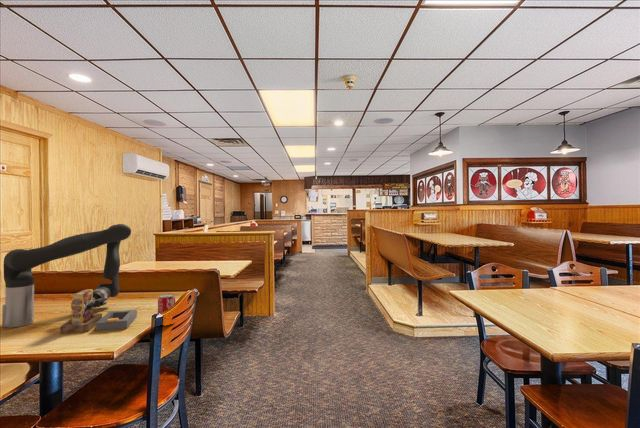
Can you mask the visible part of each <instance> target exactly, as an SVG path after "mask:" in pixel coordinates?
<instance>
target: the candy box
mask: <svg viewBox="0 0 640 428" xmlns="http://www.w3.org/2000/svg"><path fill="white" fill-rule="evenodd" d="M93 291H94V290H93V289H92V288H90V289H83V290H81V291H78V292H75V293H72V301H71V303H72V309H71V319H72V324H82V323H86V322H87V321H89V320H90V319H91V318H92V314H93V308H91V309H90V310H87V305H88V304H89V303H91V302H92V301H93Z"/></svg>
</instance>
